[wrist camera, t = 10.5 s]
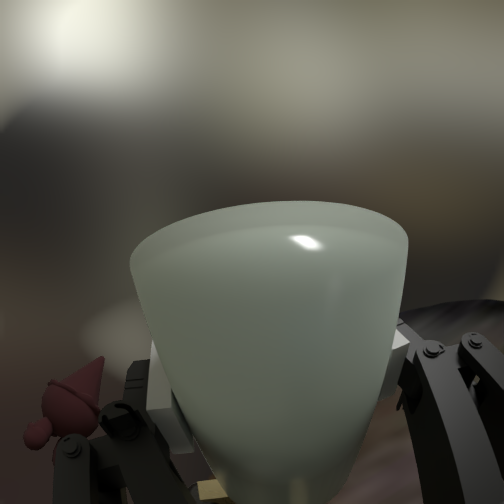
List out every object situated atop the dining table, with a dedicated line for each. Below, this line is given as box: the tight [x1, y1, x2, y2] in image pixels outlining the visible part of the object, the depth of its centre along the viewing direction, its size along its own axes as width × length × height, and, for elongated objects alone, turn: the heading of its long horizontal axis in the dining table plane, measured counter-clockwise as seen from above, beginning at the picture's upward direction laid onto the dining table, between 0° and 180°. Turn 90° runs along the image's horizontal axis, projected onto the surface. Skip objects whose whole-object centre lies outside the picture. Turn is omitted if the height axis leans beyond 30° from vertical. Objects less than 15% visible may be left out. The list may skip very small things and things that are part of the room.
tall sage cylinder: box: [130, 201, 408, 504], centre depth 10 cm, size 7×7×12 cm
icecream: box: [23, 356, 105, 466], centre depth 22 cm, size 7×7×15 cm
